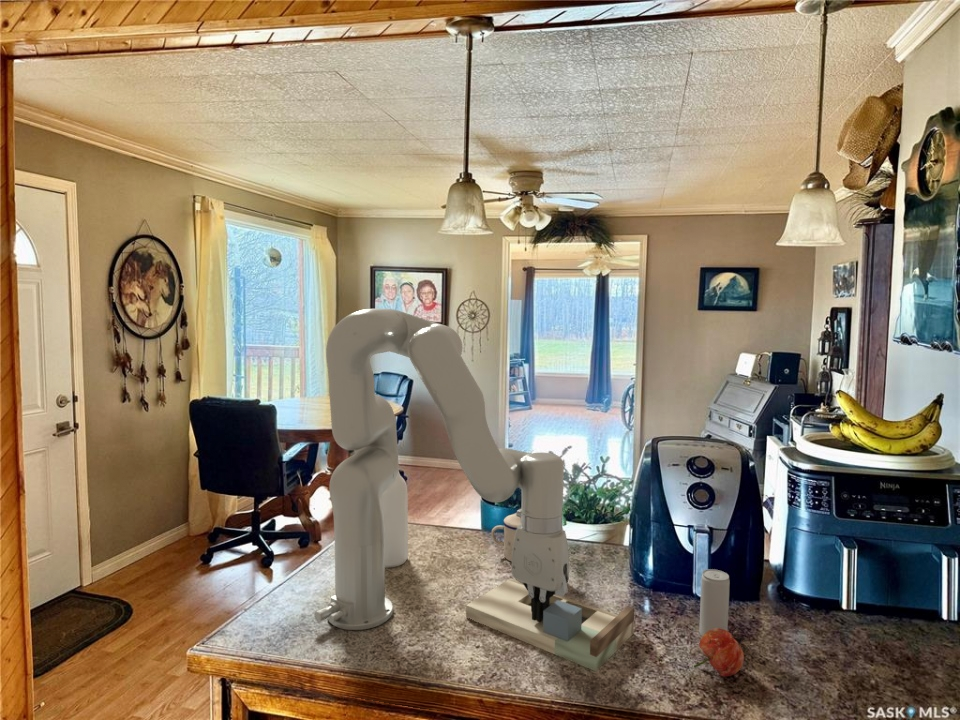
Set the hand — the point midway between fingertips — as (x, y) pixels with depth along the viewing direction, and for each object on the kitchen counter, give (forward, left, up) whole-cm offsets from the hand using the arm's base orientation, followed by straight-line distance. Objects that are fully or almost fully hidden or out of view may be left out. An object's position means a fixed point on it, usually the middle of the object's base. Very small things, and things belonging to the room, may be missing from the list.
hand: (540, 618), depth 112 cm
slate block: (0, -5, -1) cm, 5 cm away
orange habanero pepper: (+9, -29, -4) cm, 31 cm away
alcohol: (+5, +46, -3) cm, 46 cm away
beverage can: (+19, -25, -3) cm, 32 cm away
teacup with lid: (+26, +24, -3) cm, 35 cm away
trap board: (+4, +1, -3) cm, 5 cm away
